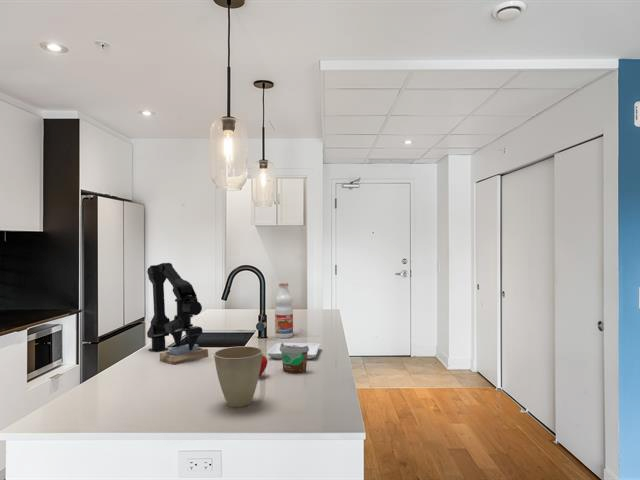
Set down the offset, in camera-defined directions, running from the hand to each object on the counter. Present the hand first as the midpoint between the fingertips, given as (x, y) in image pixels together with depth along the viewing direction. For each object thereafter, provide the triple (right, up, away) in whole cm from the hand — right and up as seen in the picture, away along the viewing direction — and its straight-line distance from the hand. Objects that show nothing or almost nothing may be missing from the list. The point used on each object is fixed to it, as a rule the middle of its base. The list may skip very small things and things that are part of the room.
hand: (184, 348), depth 198 cm
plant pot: (+34, -4, -56) cm, 65 cm away
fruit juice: (+40, -4, +43) cm, 59 cm away
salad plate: (+48, -4, +5) cm, 48 cm away
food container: (+48, -4, -22) cm, 53 cm away
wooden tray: (0, -4, 0) cm, 4 cm away
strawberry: (+36, -4, -28) cm, 46 cm away
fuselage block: (0, -3, 0) cm, 3 cm away
